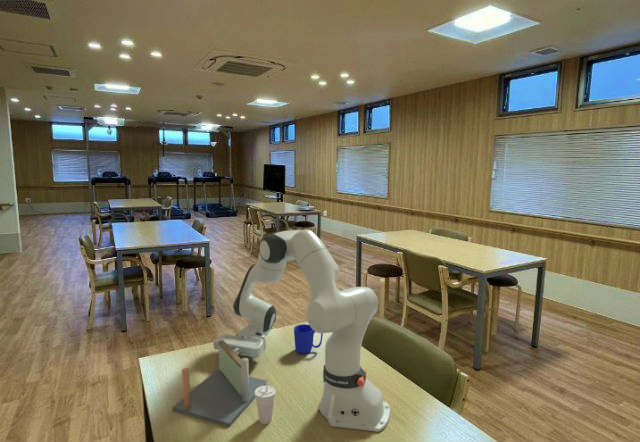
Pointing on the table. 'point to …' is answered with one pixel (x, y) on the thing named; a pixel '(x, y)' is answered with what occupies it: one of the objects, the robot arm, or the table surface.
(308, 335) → the mug
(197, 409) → the board
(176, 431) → the table surface
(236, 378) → the panel
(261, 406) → the smoothie
